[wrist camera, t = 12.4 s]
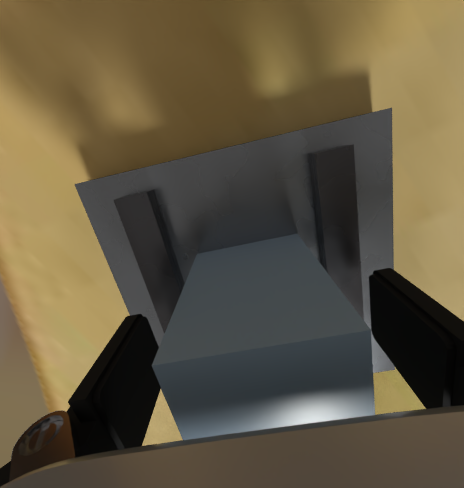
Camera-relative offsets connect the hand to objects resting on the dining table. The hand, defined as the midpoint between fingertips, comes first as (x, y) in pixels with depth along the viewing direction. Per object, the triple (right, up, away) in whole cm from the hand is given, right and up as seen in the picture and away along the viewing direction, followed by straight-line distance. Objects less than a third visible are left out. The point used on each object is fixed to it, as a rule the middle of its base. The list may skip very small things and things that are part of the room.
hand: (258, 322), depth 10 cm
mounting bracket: (0, +1, +4) cm, 4 cm away
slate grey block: (0, +1, +3) cm, 3 cm away
